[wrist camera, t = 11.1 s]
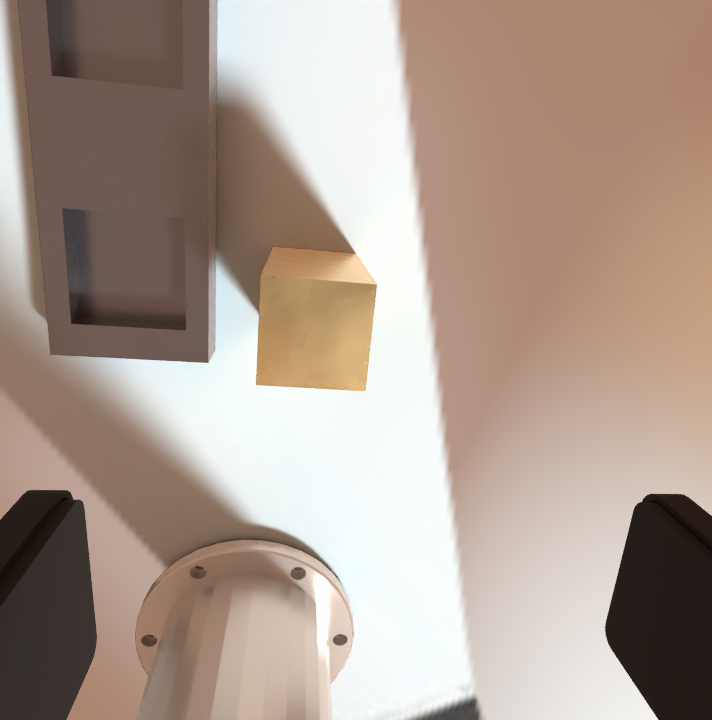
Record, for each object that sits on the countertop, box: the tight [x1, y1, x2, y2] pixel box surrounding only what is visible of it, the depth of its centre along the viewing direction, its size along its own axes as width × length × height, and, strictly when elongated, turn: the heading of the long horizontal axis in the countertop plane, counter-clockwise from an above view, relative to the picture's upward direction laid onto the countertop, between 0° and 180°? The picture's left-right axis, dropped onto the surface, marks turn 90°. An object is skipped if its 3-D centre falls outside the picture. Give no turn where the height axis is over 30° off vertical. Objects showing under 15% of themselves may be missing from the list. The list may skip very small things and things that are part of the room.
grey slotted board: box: [18, 0, 217, 363], centre depth 23 cm, size 18×7×2 cm, turn 175°
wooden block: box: [256, 247, 377, 391], centre depth 23 cm, size 4×4×8 cm
